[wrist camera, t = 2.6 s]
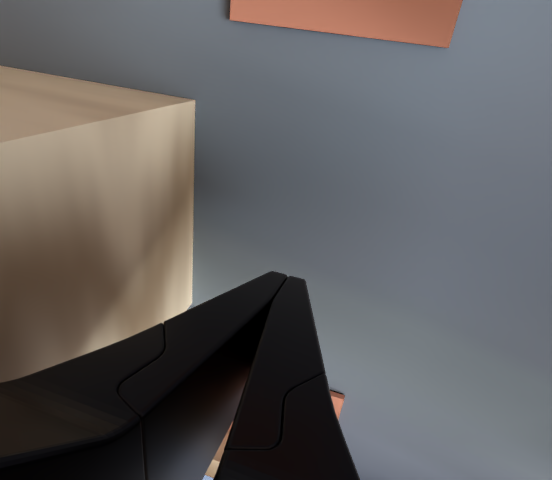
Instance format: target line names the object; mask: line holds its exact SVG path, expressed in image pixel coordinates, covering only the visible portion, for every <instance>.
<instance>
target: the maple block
mask: <svg viewBox="0 0 552 480" xmlns="http://www.w3.org/2000/svg"><path fill="white" fill-rule="evenodd" d="M194 143H195V100H192V99H186V98H180V97H175V96H169V95H163V94H158V93H152V92H146V91H141V90H135V89H129V88H124V87H118V86H113V85H107V84H101V83H96V82H90V81H84V80H79V79H73V78H67V77H62V76H56V75H50V74H45V73H39V72H33V71H28V70H22V69H16V68H11V67H5V66H0V382H6V381H10V380H14V379H18V378H21V377H24V376H27V375H30V374H33V373H35V372H38V371H41V370H44V369H46V368H49V367H52V366H54V365H57V364H60V363H63V362H65V361H68V360H71V359H73V358H76V357H79V356H82V355H84V354H87V353H90V352H92V351H95V350H98V349H100V348H103V347H106V346H108V345H111V344H113V343H116V342H118V341H121V340H123V339H126V338H128V337H130V336H133V335H135V334H137V333H139V332H142V331H144V330H146V329H148V328H151V327H153V326H155V325H157V324H159V323H164V321H166V320H168V319H170V318H172V317H174V316H176V315H179V314H181V313H183V312H185V311H186V310H187V309H188V308H189V306H190V305H191V304H192V269H193V206H194Z"/></svg>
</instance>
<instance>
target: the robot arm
mask: <svg viewBox="0 0 552 480" xmlns="http://www.w3.org/2000/svg"><path fill="white" fill-rule="evenodd" d="M232 422H233V423H232ZM231 424H232V426H231ZM230 426H231V429H230V432H229V435H228V439H227V442H226V445H225V448H224V452H223V454H222V457H221V460H220V463H219V466H218V469H217V471H216V474H215V476H214V479H213V480H360V478H359V476H358V473H357V470H356V468H355V465H354V462H353V460H352V457H351V455H350V452H349V449H348V447H347V444H346V441H345V439H344V436H343V433H342V430H341V427H340V424H339V421H338V419H337V416H336V413H335V409H334V405H333V402H332V398H331V394H330V390H329V386H328V381H327V377H326V375H325V368H324V363H323V359H322V354H321V350H320V345H319V340H318V336H317V331H316V327H315V322H314V317H313V313H312V308H311V304H310V299H309V294H308V290H307V285H306V281H305V280H304V279H301V278H297V277H293V276H289V277H287V275H285V274H282V273H278V272H275V271H271V272H268V273H266V274H264V275H262V276H260V277H257V278H255V279H253V280H251V281H249V282H247V283H245V284H243V285H240V286H238V287H236V288H234V289H232V290H230V291H228V292H225V293H223V294H221V295H219V296H217V297H215V298H213V299H211V300H208V301H206V302H204V303H202V304H200V305H198V306H196V307H193V308H191V309H189V310H187V311H185V312H183V313H181V314H179V315H176V316H174V317H172V318H170V319H168V320H166V321H164V323H159V324H157V325H155V326H153V327H151V328H148V329H146V330H144V331H142V332H139V333H137V334H135V335H133V336H130V337H128V338H126V339H123V340H121V341H118V342H116V343H113V344H111V345H108V346H106V347H103V348H100V349H98V350H95V351H92V352H90V353H87V354H84V355H82V356H79V357H76V358H73V359H71V360H68V361H65V362H63V363H60V364H57V365H54V366H52V367H49V368H46V369H44V370H41V371H38V372H35V373H33V374H30V375H27V376H24V377H21V378H18V379H14V380H10V381H6V382H0V480H202V479H203V477H204V475H205V473H206V471H207V470H208V468H209V466H210V464H211V462H212V460H213V458H214V456H215V454H216V452H217V451H218V449H219V447H220V445H221V443H222V441H223V439H224V437H225V435H226V433H227V431H228V430H229V428H230Z"/></svg>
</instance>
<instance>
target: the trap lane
mask: <svg viewBox="0 0 552 480" xmlns="http://www.w3.org/2000/svg"><path fill="white" fill-rule="evenodd" d="M462 1H463V0H231V5H230V20H232V21H240V22H248V23H256V24H264V25H271V26H279V27H287V28H295V29H303V30H311V31H319V32H327V33H334V34H342V35H350V36H358V37H366V38H374V39H382V40H389V41H397V42H405V43H413V44H421V45H429V46H437V47H444V48H449V44H450V41H451V38H452V34H453V31H454V28H455V24H456V21H457V18H458V14H459V11H460V7H461V4H462ZM330 394H331V398H332V402H333V405H334V409H335V413H336V416H337V419H338V418H339V415H340V412H341V408H342V405H343V401H344V397H345V395H342V394H339V393H336V392H332V391H330ZM232 423H233V422H232ZM231 426H232V424H231ZM231 426H230V428H229V430H228V431H227V433H226V435H225V437H224V439H223V441H222V443H221V445H220V447H219V449H218V451H217V452H216V454H215V456H214V458H213V460H212V462H211V464H210V466H209V468H208V470H207V471H206V473H205V475H207V476H210V477H212V478H214V476H215V474H216V471H217V469H218V466H219V463H220V460H221V457H222V454H223V452H224V448H225V445H226V442H227V439H228V435H229V432H230V429H231Z"/></svg>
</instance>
